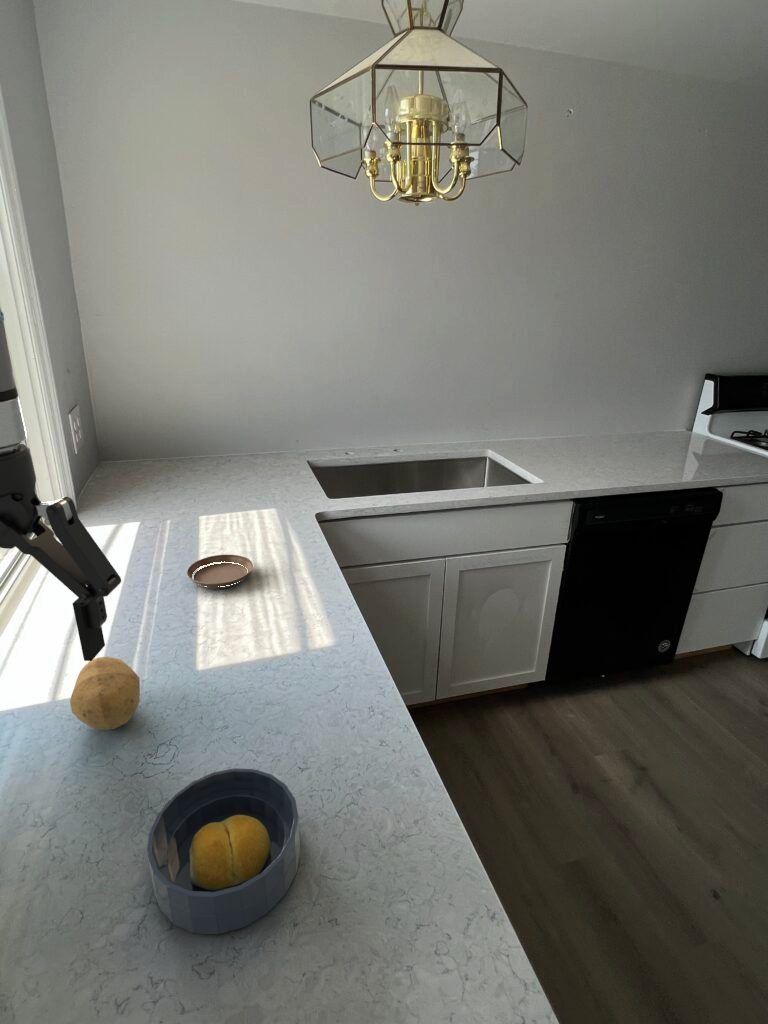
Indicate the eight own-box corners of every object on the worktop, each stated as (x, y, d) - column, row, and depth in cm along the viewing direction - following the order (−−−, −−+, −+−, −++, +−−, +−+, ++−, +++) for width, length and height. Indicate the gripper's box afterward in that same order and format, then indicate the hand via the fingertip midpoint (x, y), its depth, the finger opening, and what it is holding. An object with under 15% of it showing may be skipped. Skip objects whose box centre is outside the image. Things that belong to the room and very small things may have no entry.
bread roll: (276, 876, 62) (274, 850, 61) (192, 905, 59) (188, 879, 57) (263, 816, 69) (261, 792, 68) (187, 839, 66) (183, 814, 65)
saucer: (230, 598, 121) (229, 587, 120) (174, 587, 125) (172, 576, 125) (265, 569, 134) (264, 559, 133) (213, 560, 139) (212, 550, 138)
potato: (77, 759, 78) (66, 713, 75) (73, 700, 89) (64, 658, 87) (151, 735, 82) (144, 691, 80) (139, 682, 94) (132, 642, 91)
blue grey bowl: (128, 934, 57) (119, 893, 54) (185, 802, 72) (180, 766, 69) (285, 940, 56) (282, 899, 54) (309, 806, 71) (307, 770, 69)
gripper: (137, 441, 53) (164, 634, 60) (-122, 435, 53) (-63, 627, 60) (96, 462, 46) (133, 677, 53) (-202, 455, 46) (-124, 670, 53)
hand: (29, 651), depth 57 cm, fingers open, 13 cm apart
